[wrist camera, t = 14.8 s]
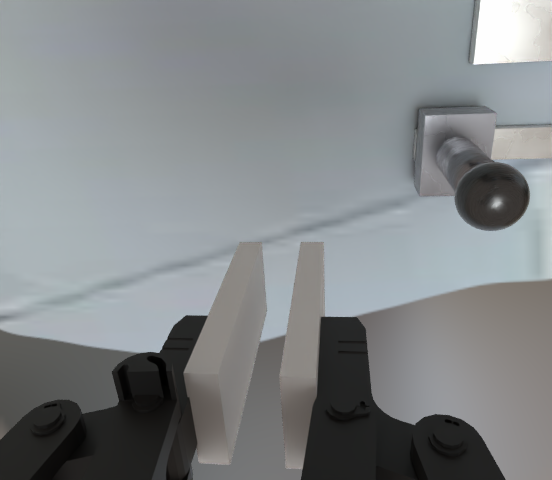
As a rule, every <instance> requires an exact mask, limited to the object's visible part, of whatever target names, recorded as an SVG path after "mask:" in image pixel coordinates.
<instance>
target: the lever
mask: <svg viewBox="0 0 552 480" xmlns="http://www.w3.org/2000/svg"><path fill="white" fill-rule="evenodd" d="M496 118H497V113H496V112H494V111H493V110H491V109H489V108H488V107H486V106H477V107H450V108H423V109H419V117H418V131H417V146H416V160H415V175H414V186H415V188H416V190H417V192H418V194H419V196H455V205H456V208H457V211H458V213H459V215H460V216H461V217H462V218H463V220H464V221H465V222H467V223H468V224H469V225H471V226H473V227H475V228H477V229H480V230H485V231H496V230H501V229H505V228H507V227H509V226H511V225H513V224H514V223H516V222H517V221H518V220H519V219H520V218H521V217H522V216H523V214H524V213H525V211H526V209H527V207H528V204H529V199H530V191H529V186H528V184H527V181H526V180H525V178H524V177H523V175H522V174H521V173H520V172H519V171H518V170H516V169H515V168H513V167H512V166H510V165H507V164H504V163H499V162H494V161H493V160H492V159H491V155H492V147H493V140H494V133H495V125H496Z"/></svg>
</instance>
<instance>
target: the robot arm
mask: <svg viewBox="0 0 552 480" xmlns="http://www.w3.org/2000/svg"><path fill="white" fill-rule="evenodd" d="M266 312H267V305H266V292H265V279H264V266H263V253H262V242H240V243H239V245H238V247H237V250H236V252H235V254H234V257H233V259H232V261H231V264H230V266H229V268H228V271H227V273H226V275H225V278H224V280H223V282H222V285H221V287H220V289H219V292H218V294H217V296H216V298H215V301H214V303H213V305H212V308H211V310H210V312H209V315H208V316H188V315H186V316H185V317H184V318H183V319H181V320H180V321H179V322H178V323H177V324H175V325H174V326H173V328H172V330H171V332H170V334H169V336H168V339H167V340H166V341H165V343H164V345H163V347H162V350H161V351H160V353H154V352H147V353H140V354H136V355H134V356H131V357H129V358H127V359H125V360H124V361H122V362H121V363H119V364H118V365H117V366H116V368H115V369H114V370H113V371H112V374H113V378H114V382H115V386H116V390H117V394H118V398H119V403H118V405H117V406H115V407H111V408H108V409H104V410H99V411H95V412H89V413H85V414H82V412H81V409H80V408H79V406H78V405H77V403H75V402H72V401H70V400H55V401H51V402H47V403H44V404H42V405H40V406H38V407H36V408H34V409H33V410H31V411H30V412H29V413H28V414H26V415H25V416H24V417H23V418H22V419H21V420H20V421H19V422H18V423H17V424H16V425H15V426H14V427H13V428H12V429H11V430H10V431H9V432H8V433H7V434H6V435H5V436H4V437H3V438H2V439H1V440H0V480H193V472H192V467H191V462H192V459H193V456H194V453H195V450H196V448H197V453H198V459H199V463H208V464H225V465H230V463H231V459H232V455H233V451H234V447H235V442H236V438H237V434H238V430H239V426H240V422H241V417H242V413H243V409H244V404H245V400H246V396H247V392H248V388H249V384H250V380H251V375H252V371H253V367H254V363H255V359H256V354H257V350H258V346H259V342H260V338H261V333H262V329H263V325H264V321H265V317H266ZM280 390H281V405H282V419H283V434H284V448H285V463H286V468H291V469H303V470H302V477H301V480H505V478H504V476H503V474H502V473H501V471H500V469H499V467H498V465H497V464H496V462H495V460H494V458H493V457H492V455H491V453H490V451H489V450H488V448H487V446H486V444H485V442H484V441H483V439H482V437H481V436H480V435H479V433H478V432H477V431H476V430H475V429H474V427H472V426H470V425H469V424H468V423H466V422H465V421H463V420H461V419H458V418H455V417H452V416H449V415H437V414H435V415H431V416H428V417H424V418H422V419H421V420H420V421H419V422H417V423H416V425H412V424H409V423H406V422H402V421H399V420H397V419H394V418H392V417H390V416H389V415H387V414H386V413H384V412H383V411H382V410H381V409H380V408H379V407H378V406H377V405H376V403H375V402H374V400H373V397H372V393H371V383H370V372H369V362H368V350H367V340H366V329H365V327H364V326H363V325H362V324H361V322H360V321H359V319H358V318H357V317H325V292H324V242H301V245H300V251H299V257H298V264H297V270H296V276H295V283H294V289H293V295H292V301H291V308H290V314H289V320H288V327H287V333H286V339H285V345H284V352H283V358H282V365H281V371H280Z"/></svg>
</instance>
